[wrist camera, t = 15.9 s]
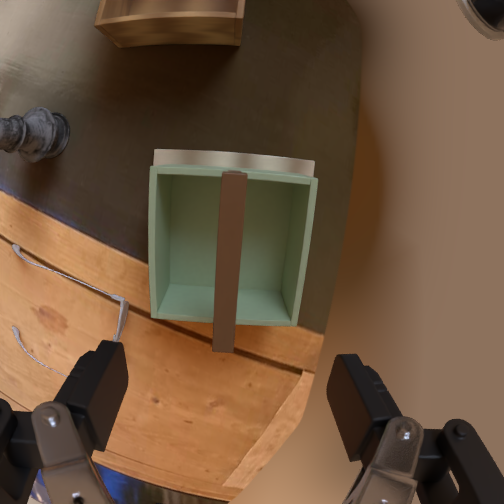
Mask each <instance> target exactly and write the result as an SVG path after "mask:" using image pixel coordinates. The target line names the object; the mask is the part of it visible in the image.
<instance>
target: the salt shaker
mask: <svg viewBox="0 0 504 504" xmlns="http://www.w3.org/2000/svg"><path fill="white" fill-rule="evenodd" d="M69 134H70V129H69V124H68V121H67V119H66V118H65V117H64V116H63V115H62V114H60V113H51V112H50V111H49V110H48V109H46V108H43V107H35V108H33V109H31V110H29V111H28V112H27V113H26V114H25V115H24V116H23V117H21V116H19V115H14V116H12V117H10V118H0V150H2V149H3V150H4V151H6V152H8V153H13V152H16V151H17V152H18V154H19V155H20V157H21V158H22V159H23V160H24V161H27V162H37V161H40V160H41V159H43V158H44V157H45V158H53V157H56V156H57V155H59V154H60V153H61V152H62V151H63V150H64V148H65V147H66V145H67V142H68V139H69Z"/></svg>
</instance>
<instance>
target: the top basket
mask: <svg viewBox="0 0 504 504" xmlns="http://www.w3.org/2000/svg"><path fill="white" fill-rule="evenodd" d="M317 186H318V179H317V178H314V177H310V176H306V175H303V174H299V173H290V172H280V171H271V170H260V169H248V168H236V167H222V166H205V165H184V164H164V165H157V166H151V167H150V179H149V210H148V258H149V289H150V309H151V318H158V319H167V320H178V321H191V322H204V323H213V343H212V351H213V352H225V353H233V352H234V338H235V325H236V324H237V325H259V326H297V321H298V315H299V309H300V303H301V298H302V292H303V286H304V279H305V273H306V267H307V260H308V253H309V247H310V240H311V232H312V225H313V218H314V210H315V202H316V194H317Z"/></svg>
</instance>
